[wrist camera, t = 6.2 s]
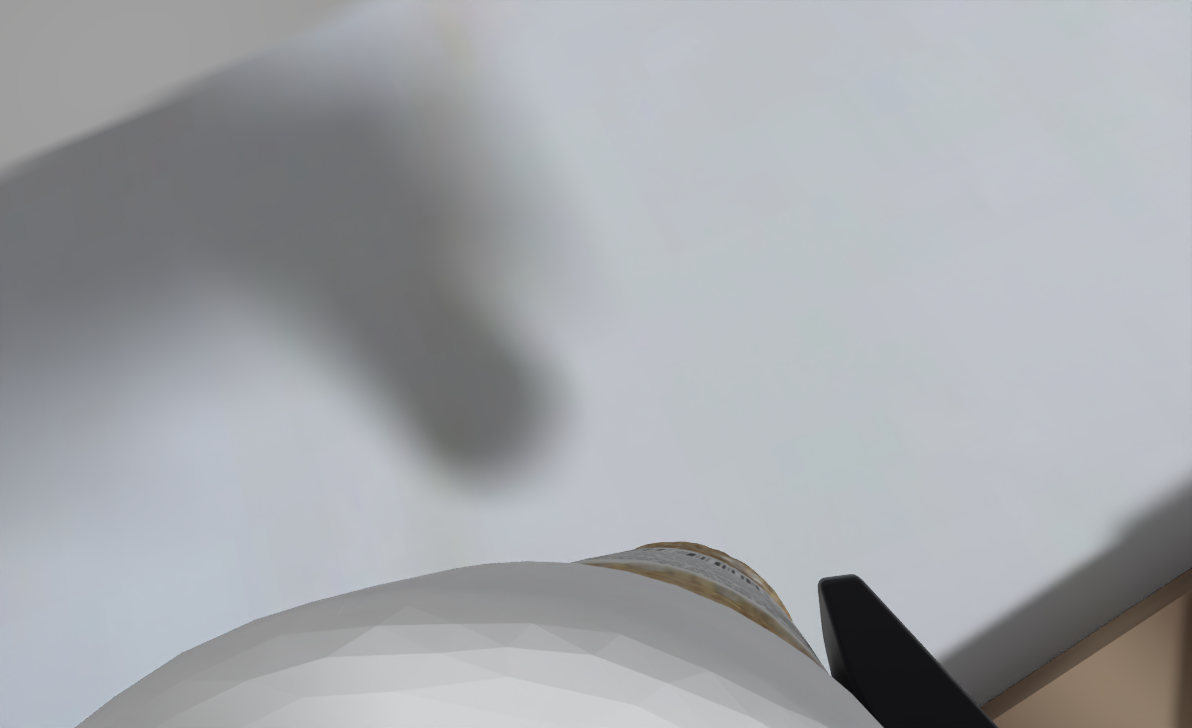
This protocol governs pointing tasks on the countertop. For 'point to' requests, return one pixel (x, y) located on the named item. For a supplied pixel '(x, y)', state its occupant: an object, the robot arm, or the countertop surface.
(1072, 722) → the board
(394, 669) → the sprinkles bottle
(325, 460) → the countertop surface
